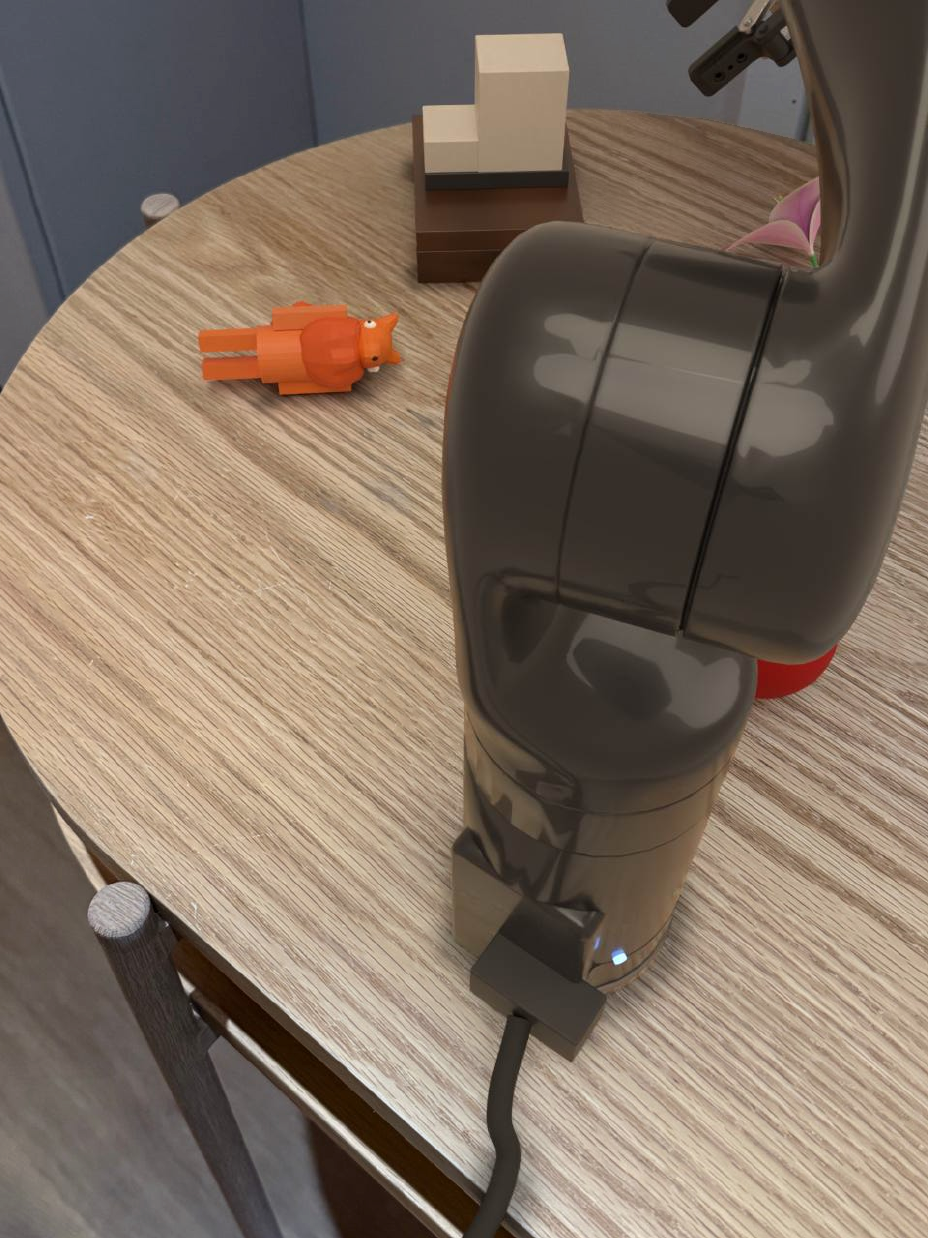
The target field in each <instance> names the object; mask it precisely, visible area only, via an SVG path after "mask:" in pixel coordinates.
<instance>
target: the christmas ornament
mask: <svg viewBox="0 0 928 1238" xmlns="http://www.w3.org/2000/svg"><path fill="white" fill-rule="evenodd" d="M838 646H839V642H838V643H837V644H836V645H835V646H834V647H833V648H832V649H831V650H830V651H829V652H827V653H826V654H825V655H823V656H822V657H820V658H818V659H816V660H815V661H811V662H808V663H805V664H795V665H787V664H781V663H774V662H767V661H763V660H759V659H757V668H758V676H757V687H756V693H755V698H754V700H774V699H781V698H784V697H787V696H788V697H789V696H792V695H794V694H796V693H799V692H800V691H802V690H804V689H806V688H807V687H809V686H810V685H812V684H813V683H814V682H816V681H817V680H818V679H819V677H821V675H823V674H824V672H825V671H826V670H827V668H828V666H829V665H830V664H831V662H832V660H833V658H834V656H835V654H836V651H837V648H838Z"/></svg>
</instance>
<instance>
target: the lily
mask: <svg viewBox="0 0 928 1238" xmlns="http://www.w3.org/2000/svg"><path fill="white" fill-rule="evenodd" d="M781 194H782V196H781ZM777 197H778V198H779V200H777V199H776V198H775V197H773V196H770V198H771V199H772V200H773V201H776V202H777V204H776V205H775V206H774V208H772V210H771V212H770V214H769V217H768V223H766V224H764V225H761V226H760V227H758V228H757V229H754V230H753V231H752V232H749V233H748V234H746V235H745V236H743V237H742V238H739V239H736V240H733V241H731V242H729V243H727V244H725V245H723V246H721V247H719V248H718V249H717V250H720V251H725V252H727V251H729V250H730V249H733V248H735V247H738V246H739V245H742V244H749V243H751V244H765V245H771V246H772V245H773V246H779V247H786V248H790V249H791V248H792V249H797V250H803V251H805V252H806V253H807V254H808V256H809V259H810V261H811V263H812V267H813V268H817V267H819V263H818V262H817V258H816V254H815V251H814V243H815V239H816V237H817V233H818V232H819V231H818V230H819V227H820V190H819V176H816V177H814V178H813V179H811V180H808V182H806V183H804V184H802V185H800V186H799V187H798V188H796V189H794V190H793V191H792V192H790V193H789V194H788V195H786V196H785V194H784V192H782V193H777Z"/></svg>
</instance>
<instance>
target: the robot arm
mask: <svg viewBox="0 0 928 1238" xmlns="http://www.w3.org/2000/svg"><path fill="white" fill-rule="evenodd" d="M719 1H720V0H665V4H666V8H667V11H668V13H669V14H670V15H671V17H672V18H673V19H674V20H675V21H676V23H678V25H679V26H680V27H681V28H689V27H690V26H692V25H693V24H694V23H695V22H696V21H698V19H700V18H701V17H702V16H703V15H705V13H707V12H708V11H709V10H710V9H711V8H712V7H713V6H714V5H716V3H718V2H719ZM769 12H770V13H771V15H770V16H769V17H767V15H768V14H769ZM766 17H767V18H766ZM788 34H789V37H790V38H789V39H787V35H788ZM758 59H762V60H768V59H769V60H771V61H773V62H774V63H775V65H776V66H777V67H778V68H784V67H787V65H789V64H790V63H791V62H792V61H793V60H794V59H797V61H798V66H799V70H800V74H801V79H802V82H803V87H804V92H805V95H806V101H807V106H808V109H809V115H810V121H811V126H812V132H813V138H814V145H815V153H816V162H817V173H818V177H819V190H820V225H819V227H820V248H819V249H820V250H819V260H818V267H817V268H814V267H813V268H807V267H800V266H799V267H797V266H793V265H792V264H790V265H788V266H787V267H786V270H785V271H784V264H783V263H781V262H776V261H774V260H768V259H767V260H766V259H762V258H758V257H753V256H748V255H743V254H738V253H734V252H730V251H720V250H718V249H716V248H710V247H706V246H702V245H697V244H692V243H687V242H681V241H677V240H672V239H667V238H663V237H660V238H659V237H658V238H657V237H655V236H652V235H651V236H650V235H647V234H642V233H638V232H632V231H627V230H623V229H618V228H614V227H610V226H604V225H599V224H594V223H587V222H584V223H582V222H575V221H551V222H546V223H542V224H539V225H536V226H534V227H532V228H530V229H529V230H527V231H525V232H523V233H522V234H520V235H518V236H517V237H516V238H515V239H514V240H513V241H512V242H511V243H510V244H509V245H508V246H507V247H506V248H505V249H504V250H503V251H502V252H501V253H500V254H499V255H498V257H497V258H496V259H495V260H494V262H493V263H492V265H491V266H490V268H489V269H488V271H487V273H486V274H485V276H484V277H483V279H482V281H480V283H479V285H478V287H477V290H476V292H475V293H474V296H473V298H472V300H471V302H470V304H469V306H468V309H467V312H466V314H465V317H464V320H463V323H462V325H461V329H460V332H459V336H458V339H457V342H456V346H455V349H454V354H453V359H452V364H451V369H450V373H449V378H448V384H447V390H446V396H445V404H444V405H445V406H444V414H443V429H442V430H443V431H442V444H441V445H442V447H441V448H442V449H441V479H440V480H441V481H440V482H441V483H440V487H441V505H442V522H443V523H442V524H443V537H444V539H443V540H444V546H445V547H444V548H445V555H446V557H445V558H446V564H447V573H448V582H449V591H450V599H451V601H450V602H451V608H452V609H451V610H452V621H453V634H454V656H455V657H454V659H455V670H456V678H457V684H458V688H459V691H460V693H461V696H462V700H463V764H462V765H463V773H462V774H463V779H462V780H463V781H462V782H463V784H462V785H463V789H462V791H463V792H462V795H463V803H462V804H463V805H462V807H463V808H462V812H463V813H462V820H463V821H462V822H463V823H462V825H463V827H462V830H461V832H460V833H459V834H458V836H457V837H456V838H455V839H454V840H453V842H452V844H451V847H450V862H451V863H450V868H451V869H450V870H451V925H452V926H451V927H452V929H451V930H452V932H451V933H452V940H453V941H454V942H455V944H458V945H459V946H460V947H462V948H463V949H464V950H466V951H467V952H469V953H470V954H472V955H474V956H475V957H476V958H478V959H477V960H476V961H475V962H474V964H473V965H472V966H471V968H470V969H469V988H468V989H469V992H470V993H472V994H473V995H474V996H475V997H476V998H478V999H480V1000H481V1001H483V1002H484V1003H485V1004H487V1005H488V1006H490V1007H491V1008H492V1009H494V1010H495V1011H497V1012H498V1013H499V1014H501V1015H502V1016H504V1017H505V1018H506V1022H505V1025H504V1031H503V1034H502V1037H501V1041H500V1044H499V1048H498V1050H497V1054H496V1058H495V1061H494V1065H493V1068H492V1073H491V1077H490V1082H489V1087H488V1093H487V1100H486V1101H487V1103H486V1115H485V1116H486V1127H487V1132H488V1135H489V1138H490V1140H491V1143H492V1145H493V1148H494V1152H495V1160H494V1161H495V1162H494V1165H493V1169H492V1173H491V1177H490V1181H489V1183H488V1186H487V1189H486V1192H485V1194H484V1197H483V1199H482V1201H481V1204H480V1205H479V1208H478V1210H477V1211H476V1214H475V1215H474V1217H473V1218H472V1220H471V1222H470V1224H469V1226H468V1227H467V1228H466V1230H465V1231H464V1233H463V1234H462V1236H461V1238H494V1237H495V1235H496V1233H497V1232H498V1230H499V1228H500V1226H501V1225H502V1222H503V1220H504V1218H505V1215H506V1213H507V1211H508V1209H509V1207H510V1203H511V1200H512V1197H513V1195H514V1192H515V1190H516V1189H515V1188H516V1186H517V1181H518V1177H519V1173H520V1169H521V1164H522V1148H521V1142H520V1140H519V1137H518V1134H517V1132H516V1130H515V1129H516V1128H515V1126H514V1122H513V1105H514V1098H515V1097H514V1096H515V1091H516V1086H517V1082H518V1077H519V1073H520V1069H521V1067H522V1062H523V1060H524V1059H523V1058H524V1055H525V1052H526V1048H527V1044H528V1041H529V1038H530V1035H531V1036H532V1037H534V1038H535V1039H536V1040H538V1041H539V1042H541V1043H542V1044H544V1045H545V1046H546V1047H548V1048H549V1049H550V1050H552V1051H553V1052H555V1053H556V1054H558V1055H559V1056H561V1057H562V1058H563V1059H565V1060H566V1061H568V1062H569V1063H573V1062H574V1061H575V1060H576V1058H577V1056H578V1055H579V1053H580V1051H581V1050H582V1048H583V1047H584V1045H585V1044H586V1043H587V1041H588V1040H589V1037H590V1035H591V1034H592V1033H593V1031H594V1029H595V1028H596V1026H597V1024H598V1023H599V1021H600V1020H601V1019H602V1016H603V1013H604V1010H605V1007H606V1004H607V1000H608V995H610V994H613V993H615V992H617V991H620V990H621V989H623V988H625V987H627V986H628V985H630V984H631V983H632V982H634V981H635V980H637V979H638V978H639V977H641V976H642V975H643V974H644V973H645V972H646V971H647V970H648V969H649V968H650V966H651V965H652V964H653V963H654V961H655V960H656V959H657V957H658V955H659V954H660V953H661V950H662V948H663V946H664V945H665V941H666V939H667V937H668V933H669V932H670V929H671V927H672V926H671V925H672V924H673V923H672V922H673V918H674V913H675V909H676V907H677V904H678V902H679V899H680V895H681V893H682V890H683V887H684V885H685V883H686V881H687V877H688V874H689V872H690V869H691V867H692V864H693V861H694V859H695V857H696V854H697V851H698V848H699V846H700V843H701V841H702V838H703V836H704V833H705V831H706V828H707V826H708V822H709V820H710V817H711V815H712V812H713V810H714V807H715V804H716V801H717V800H718V797H719V794H720V791H721V788H722V786H723V784H724V782H725V779H726V777H727V775H728V772H729V769H730V767H731V764H732V761H733V759H734V756H735V753H736V751H737V749H738V746H739V744H740V741H741V739H742V736H743V734H744V731H745V728H746V726H747V722H748V721H749V719H750V714H751V712H752V709H753V705H754V701H755V693H756V687H757V676H758V668H757V659H759V660H763V661H767V662H774V663H781V664H787V665H795V664H805V663H808V662H811V661H815V660H816V659H818V658H820V657H822V656H823V655H825V654H826V653H827V652H829V651H830V650H831V649H832V648H833V647H834V646H835V645H836V644H837V643H838V644H839V642H840V641H841V640H842V639H843V638H844V637H845V636H846V634H847V633H848V632H849V630H850V629H851V628H852V626H853V624H854V623H855V621H857V619H858V617H859V615H860V613H861V611H862V609H863V608H864V606H865V604H866V602H867V600H868V598H869V596H870V593H871V592H872V590H873V588H874V585H875V583H876V582H877V579H878V576H879V574H880V571H881V568H882V565H883V563H884V561H885V558H886V555H887V552H888V549H889V548H890V544H891V541H892V538H893V536H894V532H895V529H896V526H897V523H898V518H899V515H900V512H901V508H902V506H903V502H904V499H905V495H906V492H907V489H908V485H909V481H910V478H911V473H912V469H913V465H914V464H913V463H914V459H915V456H916V451H917V446H918V444H919V439H920V436H921V430H922V426H923V422H924V418H925V414H926V411H927V406H928V0H754V1H753V2H752V4H751V6H750V7H749V8H748V10H747V12H746V14H745V15H744V17H743V18H742V19H741V21H740V23H739V25H738V26H737V25H735V26H733V27H732V28H731V29H730V30H729V31H727V32H726V33H725V35H723V36H722V37H720V39H719V40H718V41H716V42H715V43H714V44H713V45H712V46H710V48H708V49H707V50H706V51H705V52H703V53H702V54H701V55H700V56H699V57H698V58H697V59H696V60H694V61H693V62H692V63H690V65H689V67H688V68H687V69H688V71H687V73H688V76H689V79H690V82H691V83H692V84H693V85H694V86H695V87H696V88H697V90H699V92H700V93H701V94H702V95H703V96H704V97H707V98H709V97H713V96H715V95H716V94H717V93H718V92H719V91H720V90H722V89H723V88H724V87H726V86H727V85H728V84H729V83H730V82H732V81H733V80H734V79H735V78H736V77H738V76H739V75H740V74H741V73H742V72H744V71H745V70H746V69H747V68H748V67H749V66H751V65H752V64H753V63H754V62H755V61H757V60H758Z"/></svg>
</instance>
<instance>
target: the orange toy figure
mask: <svg viewBox="0 0 928 1238" xmlns="http://www.w3.org/2000/svg"><path fill="white" fill-rule="evenodd" d="M347 304H348V303H347ZM347 304H346V303H345V304H343V303H342V304H325V305H323V304H322V305H314V304H311V303H308V302H306V301H304V300H300V301H296V302H295V303H293V304H292V305H290V306H278V307H272V310H271V318H272V319H271V321H270V324H267V325H265V324H264V325H257V326H256V327H242V328H241V327H240V328H238V327H237V328H219V329H217V328H216V329H200V330H199V332H198V335H197V341H198V346H199V347H198V348H199V353H200V354H204V353H207V354H208V353H228V352H229V353H230V352H250V351H256V354H257V355H240V356H239V355H238V356H220V357H219V356H218V357H203V358H202V361H201V372H202V378H203V381H221V380H222V381H223V380H224V381H225V380H245V379H260V380H261V383H262V384H277V383H278V384H277V385H278V393H279V395H297V394H316V393H317V394H318V393H319V394H320V393H321V394H322V393H339V392H352V384H353V383H355V382H358V381H360V380H361V379H362V377H363V376H364V374H365V369H366V370H367V371H368V372H369V373H371V374H372V375H375V374H376V373H377V372H379V370H380V366H382V365H383V364H386V365H393V366H396V365H398V364H400V363H401V362H402V357H401V354H400V353H399V352H398V351H397V350H396V349H395V348H394V347H393V338H392V337H393V336H392V333H393V331H394V329H395V328H396V326H397V325H398V323H399V314H398V313H397V312H392V313H390V314H387V315H384V316H381V317H379V318H364V319H359V318H357V317H354V316H348V305H347Z"/></svg>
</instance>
